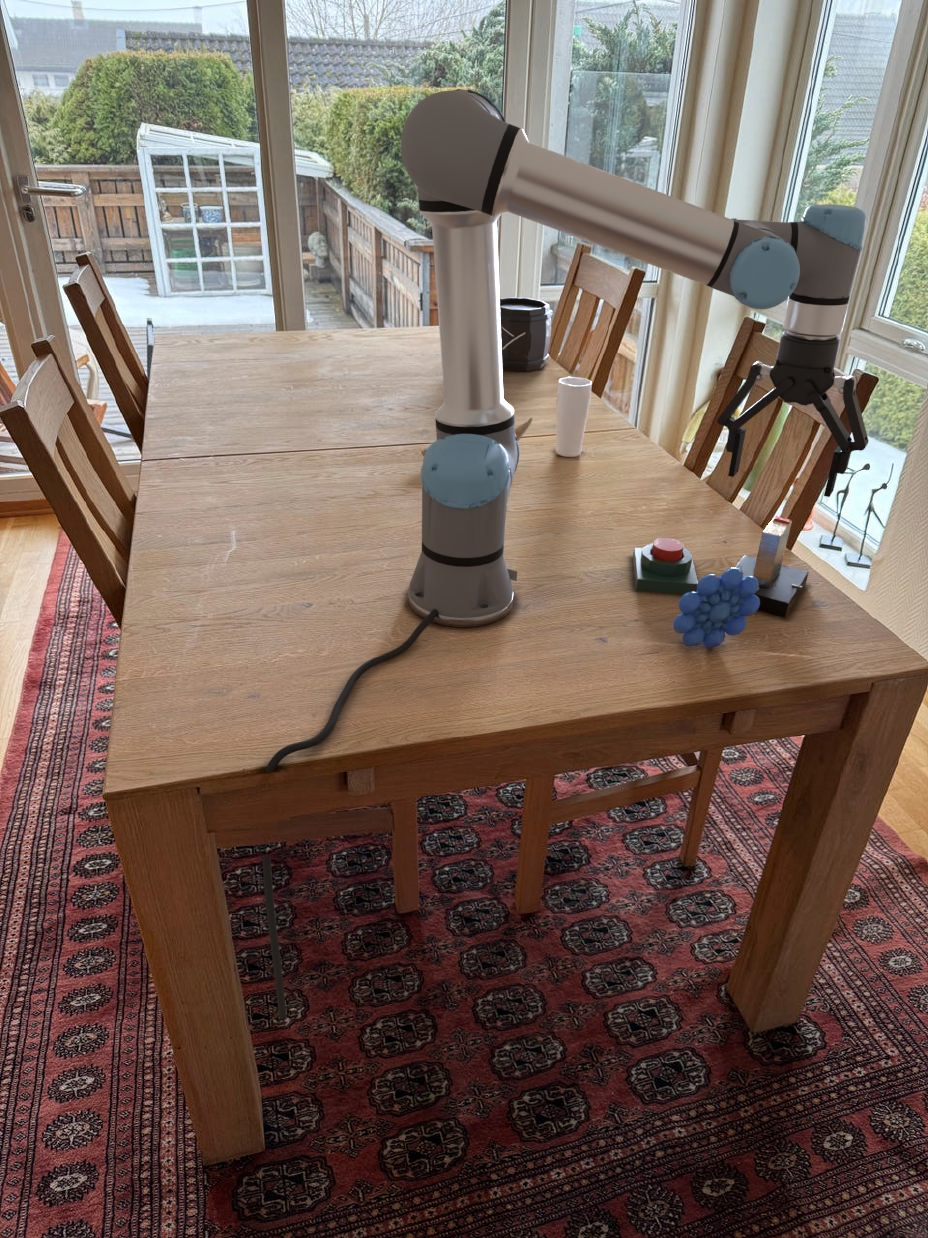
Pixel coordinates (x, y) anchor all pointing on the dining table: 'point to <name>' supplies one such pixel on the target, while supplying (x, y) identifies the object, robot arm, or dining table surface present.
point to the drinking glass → (571, 414)
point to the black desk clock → (524, 333)
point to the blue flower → (717, 608)
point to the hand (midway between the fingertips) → (779, 483)
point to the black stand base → (776, 587)
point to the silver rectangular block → (771, 551)
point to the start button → (667, 549)
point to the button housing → (663, 572)
